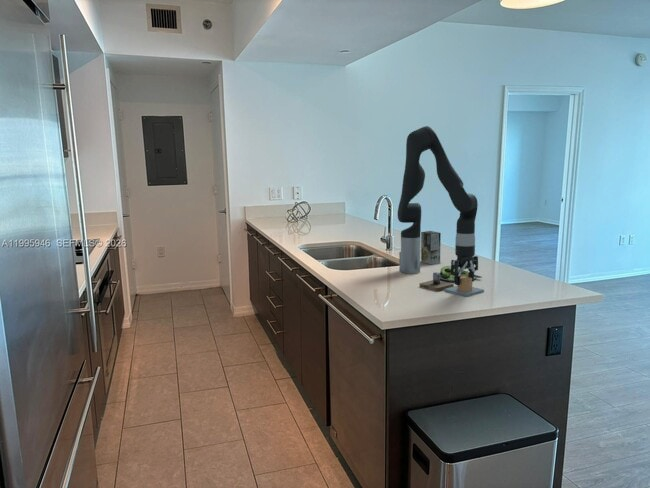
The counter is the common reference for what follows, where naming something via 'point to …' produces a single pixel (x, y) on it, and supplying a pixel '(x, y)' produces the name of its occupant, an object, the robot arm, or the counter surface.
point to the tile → (464, 293)
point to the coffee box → (430, 247)
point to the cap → (465, 284)
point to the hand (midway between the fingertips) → (464, 283)
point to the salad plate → (448, 277)
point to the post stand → (436, 283)
